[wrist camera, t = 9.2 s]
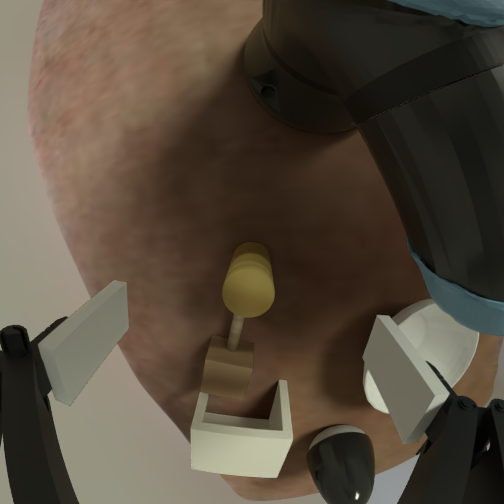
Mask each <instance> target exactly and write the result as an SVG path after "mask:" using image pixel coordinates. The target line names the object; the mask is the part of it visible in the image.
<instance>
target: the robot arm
mask: <svg viewBox="0 0 504 504" xmlns="http://www.w3.org/2000/svg"><path fill="white" fill-rule="evenodd" d="M244 67H245V74H246V79H247V82H248V85H249V87H250V89H251V91H252V93H253V95H254V97H255V98H256V99H257V101H258V102H259V103H260V105H261V106H262V107H263V108H264V109H265V110H266V111H267V112H268V113H270V114H271V115H272V116H273V117H275V118H276V119H278V120H279V121H281V122H283V123H284V124H286V125H288V126H291V127H293V128H295V129H298V130H302V131H305V132H310V133H316V134H333V133H340V132H344V131H347V130H350V129H353V128H355V127H357V128H358V130H359V132H360V134H361V136H362V137H363V139H364V141H365V143H366V145H367V147H368V149H369V151H370V153H371V155H372V157H373V159H374V161H375V163H376V165H377V167H378V169H379V171H380V173H381V175H382V177H383V179H384V181H385V183H386V186H387V188H388V190H389V192H390V195H391V197H392V199H393V202H394V204H395V206H396V209H397V211H398V213H399V216H400V218H401V221H402V223H403V226H404V229H405V231H406V234H407V236H406V241H407V246H408V248H409V250H410V253H411V255H412V257H413V258H414V260H415V262H416V263H417V264H418V266H419V268H420V271H421V273H422V276H423V279H424V281H425V284H426V287H427V290H428V292H429V294H430V296H431V297H432V299H433V301H434V302H435V303H436V305H437V306H438V307H439V308H440V309H441V310H442V311H443V312H445V313H447V314H449V315H450V316H451V317H452V318H453V319H454V320H455V321H456V322H457V323H459V324H460V325H462V326H464V327H467V328H469V329H471V330H474V331H477V332H480V333H484V334H489V335H495V336H504V0H263V17H262V19H261V20H260V21H259V22H258V23H257V25H256V26H255V27H254V28H253V30H252V31H251V33H250V35H249V37H248V39H247V42H246V46H245V50H244ZM491 68H492V69H491ZM488 69H489V70H488ZM474 74H475V75H474ZM466 77H467V78H466ZM458 80H459V81H458ZM453 82H454V83H453ZM450 83H451V84H450ZM448 84H449V85H448ZM445 85H446V86H445ZM443 86H444V87H443ZM440 87H441V88H440ZM438 88H439V89H438ZM435 89H436V90H435ZM433 90H434V91H433ZM431 91H432V92H431ZM428 92H429V93H428ZM426 93H427V94H426ZM423 94H424V95H423ZM421 95H422V96H421ZM419 96H420V97H419ZM416 97H418V98H416ZM414 98H415V99H414ZM412 99H413V100H412ZM409 100H411V101H409ZM407 101H408V102H407ZM405 102H406V103H405ZM402 103H404V104H402ZM400 104H402V105H400ZM398 105H399V106H398ZM396 106H397V107H396ZM394 107H395V108H394ZM391 108H393V109H391ZM389 109H391V110H389ZM387 110H389V111H387ZM385 111H386V112H385ZM383 112H384V113H383ZM381 113H382V114H381ZM379 114H380V115H379ZM376 115H378V116H376ZM374 116H376V117H374ZM372 117H374V118H372ZM371 118H372V119H371ZM369 119H370V120H369ZM128 329H129V320H128V302H127V282H122V281H116V280H114V281H112V282H111V283H110V284H109V285H107V286H106V287H105V288H104V289H102V290H101V291H100V292H99V293H97V294H96V295H95V296H94V297H92V298H91V299H90V300H89V301H88V302H86V303H85V304H84V305H83V306H82V307H80V308H79V309H78V310H77V311H76V312H74V313H73V314H72V315H71V316H70V317H63V318H60V319H58V320H56V321H55V322H54V323H52V324H51V325H50V327H48V328H46V329H45V331H43V332H42V333H41V334H39V335H38V336H37V337H36V338H35V339H34V340H32V341H31V342H30V341H29V337H28V333H27V329H26V328H24V327H23V326H20V325H11V326H7V327H5V328H3V329H2V330H1V331H0V344H1V348H2V351H1V350H0V445H1V439H2V434H3V442H4V451H5V459H6V466H7V472H8V478H9V484H10V488H11V493H12V497H13V502H14V504H79V502H78V500H77V497H76V495H75V492H74V489H73V487H72V484H71V481H70V478H69V475H68V472H67V469H66V466H65V463H64V460H63V457H62V453H61V449H60V446H59V443H58V439H57V434H56V430H55V426H54V421H53V417H52V412H51V406H50V401H49V398H48V396H47V394H48V393H49V392H50V391H51V390H52V391H53V394H54V397H55V399H56V400H58V401H60V402H62V403H64V404H67V405H69V406H71V404H72V403H73V402H74V400H75V399H76V397H77V396H78V395H79V393H80V392H81V391H82V389H83V388H84V387H85V385H86V384H87V382H88V381H89V379H90V378H91V377H92V375H93V374H94V373H95V372H96V370H97V369H98V367H99V366H100V365H101V364H102V362H103V361H104V360H105V358H106V357H107V356H108V354H109V353H110V352H111V351H112V349H113V348H114V347H115V345H116V344H117V343H118V342H119V340H120V339H121V338H122V336H123V335H124V334H125V333H126V331H127V330H128ZM362 358H363V360H364V362H365V364H366V366H367V368H368V370H369V372H370V374H371V376H372V378H373V380H374V382H375V384H376V386H377V388H378V390H379V392H380V395H381V397H382V399H383V401H384V403H385V405H386V407H387V409H388V411H389V413H390V416H391V418H392V420H393V422H394V424H395V426H396V429H397V431H398V433H399V435H400V437H401V440H402V442H403V444H408V443H414V442H418V441H419V440H420V438H421V437H422V436H423V434H424V433H426V435H427V437H428V439H427V440H426V441H425V443H424V444H423V445H422V447H421V448H420V449H419V450H418V452H417V453H416V455H418V454H419V453H420V452H421V453H420V455H419V458H418V460H417V463H416V465H415V467H414V470H413V472H412V474H411V476H410V479H409V481H408V483H407V485H406V487H405V489H404V491H403V493H402V495H401V497H400V499H399V501H398V503H397V504H504V400H501V399H493V400H492V401H491V402H490V404H489V405H488V407H487V408H482V407H478V406H477V405H476V403H475V402H474V401H473V400H472V399H470V398H468V397H465V396H457V395H456V393H455V392H454V391H453V389H452V388H451V387H450V385H449V384H448V383H447V381H446V380H444V377H443V376H442V375H440V372H439V371H438V370H437V368H436V367H435V366H434V365H432V364H431V363H429V362H428V361H425V360H424V359H423V357H422V356H421V355H420V354H419V352H418V351H417V350H416V348H415V347H414V346H413V345H412V343H411V342H410V341H409V340H408V338H407V337H406V336H405V335H404V333H403V332H402V331H401V330H400V329H399V327H398V326H397V325H396V324H395V322H394V321H393V320H392V319H391V318H390V316H385V315H377V316H376V319H375V323H374V326H373V329H372V332H371V334H370V337H369V340H368V343H367V346H366V349H365V351H364V354H363V357H362ZM489 443H490V448H489V450H488V451H487V445H488V444H489Z"/></svg>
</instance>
